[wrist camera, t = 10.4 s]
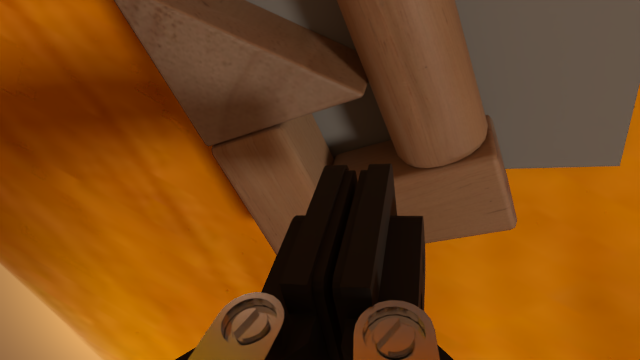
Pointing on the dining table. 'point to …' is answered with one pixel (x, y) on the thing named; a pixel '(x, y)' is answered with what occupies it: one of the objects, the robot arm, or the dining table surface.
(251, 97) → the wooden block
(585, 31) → the mat
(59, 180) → the dining table surface
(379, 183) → the robot arm
